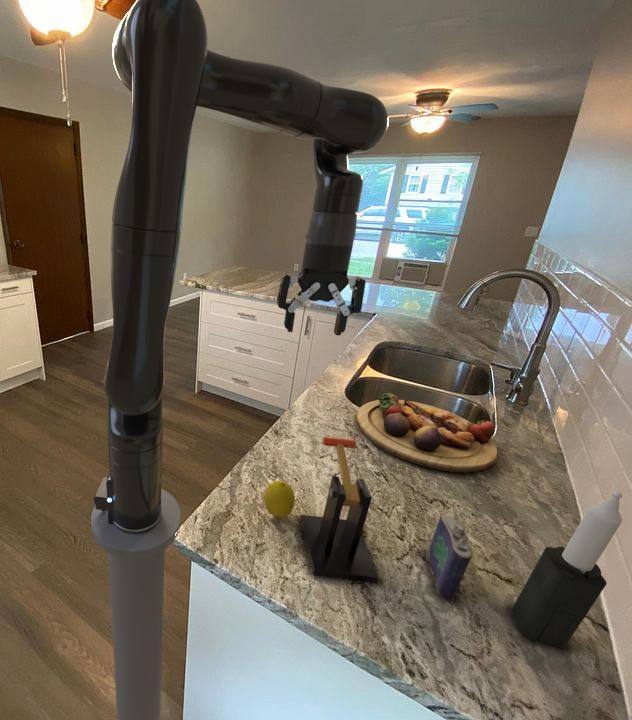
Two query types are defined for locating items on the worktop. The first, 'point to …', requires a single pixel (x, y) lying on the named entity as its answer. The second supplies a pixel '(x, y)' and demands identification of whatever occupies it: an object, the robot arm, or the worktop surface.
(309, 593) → the worktop surface
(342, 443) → the valve lever
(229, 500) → the worktop surface
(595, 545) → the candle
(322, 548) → the black lever stand
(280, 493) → the lemon
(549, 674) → the worktop surface
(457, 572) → the flask
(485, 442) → the wooden plate
